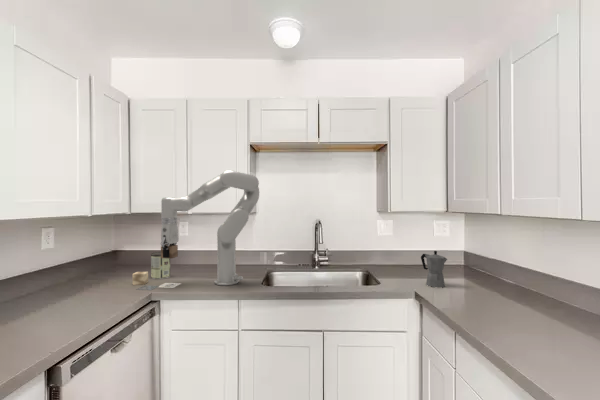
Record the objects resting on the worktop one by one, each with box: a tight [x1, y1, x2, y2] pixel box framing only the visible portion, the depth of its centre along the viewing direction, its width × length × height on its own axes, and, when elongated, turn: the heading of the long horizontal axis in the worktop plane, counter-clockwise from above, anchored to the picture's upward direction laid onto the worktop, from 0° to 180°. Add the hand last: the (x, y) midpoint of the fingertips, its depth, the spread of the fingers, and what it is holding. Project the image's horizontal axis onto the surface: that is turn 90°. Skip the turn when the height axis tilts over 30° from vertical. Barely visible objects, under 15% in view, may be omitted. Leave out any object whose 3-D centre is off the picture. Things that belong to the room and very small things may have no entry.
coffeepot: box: [420, 250, 448, 288], centre depth 178 cm, size 15×9×18 cm, turn 33°
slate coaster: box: [135, 284, 160, 291], centre depth 170 cm, size 8×8×1 cm
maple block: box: [132, 271, 149, 286], centre depth 179 cm, size 6×6×6 cm
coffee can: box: [150, 251, 171, 280], centre depth 193 cm, size 10×10×14 cm
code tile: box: [158, 282, 182, 289], centre depth 175 cm, size 9×9×1 cm
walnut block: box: [160, 244, 179, 259], centre depth 175 cm, size 6×6×6 cm
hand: (169, 256), depth 175 cm, fingers closed on walnut block, 6 cm apart
